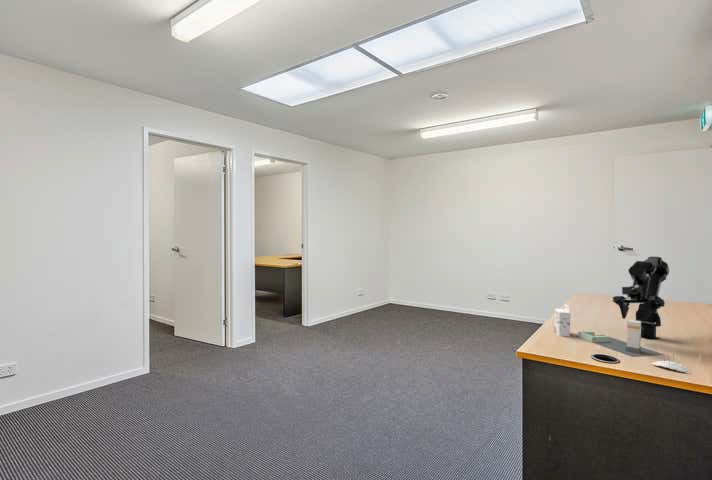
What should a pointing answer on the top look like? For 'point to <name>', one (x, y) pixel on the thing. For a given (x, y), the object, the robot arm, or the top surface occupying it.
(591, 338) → the holder
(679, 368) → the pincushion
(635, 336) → the white rectangular container
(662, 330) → the top surface
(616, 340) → the mat
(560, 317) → the ink cartridge box
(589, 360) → the top surface
